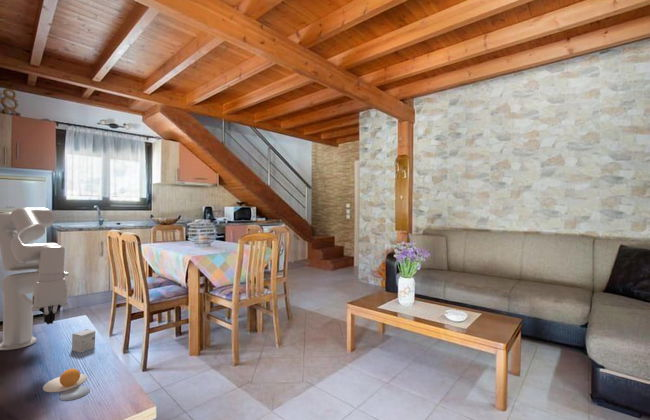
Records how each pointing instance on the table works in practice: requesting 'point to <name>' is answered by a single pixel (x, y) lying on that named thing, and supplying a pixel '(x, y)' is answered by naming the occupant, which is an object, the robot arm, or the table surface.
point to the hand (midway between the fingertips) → (49, 323)
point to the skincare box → (83, 340)
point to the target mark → (57, 387)
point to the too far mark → (74, 393)
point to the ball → (69, 377)
